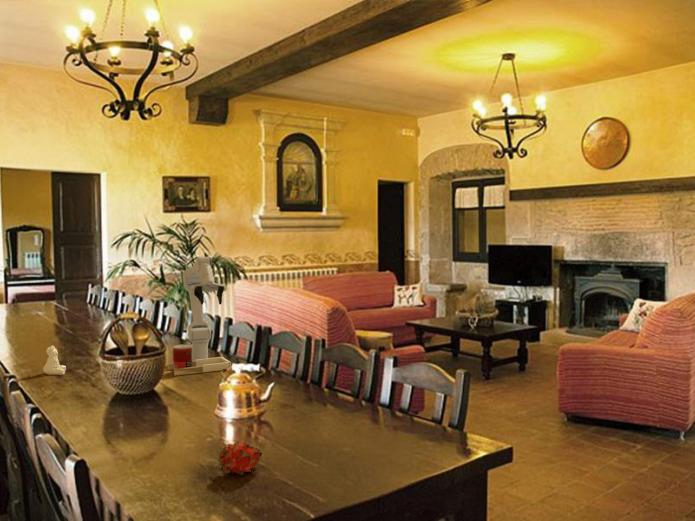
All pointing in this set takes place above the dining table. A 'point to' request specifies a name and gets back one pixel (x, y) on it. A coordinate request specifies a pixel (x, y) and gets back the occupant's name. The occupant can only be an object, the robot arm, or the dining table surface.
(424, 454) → the dining table surface
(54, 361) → the white creature statuette
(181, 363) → the canned food
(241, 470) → the dragon fruit
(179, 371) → the rail channel
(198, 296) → the robot arm
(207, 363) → the open frame
